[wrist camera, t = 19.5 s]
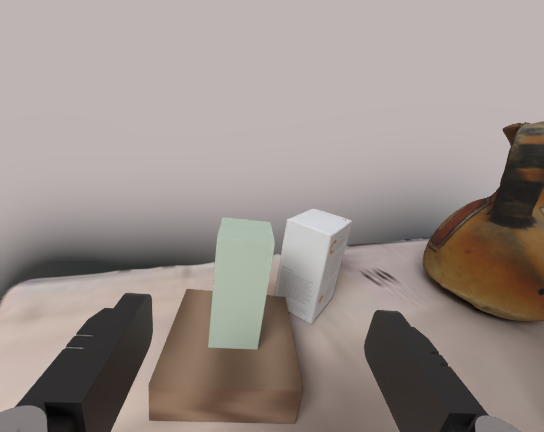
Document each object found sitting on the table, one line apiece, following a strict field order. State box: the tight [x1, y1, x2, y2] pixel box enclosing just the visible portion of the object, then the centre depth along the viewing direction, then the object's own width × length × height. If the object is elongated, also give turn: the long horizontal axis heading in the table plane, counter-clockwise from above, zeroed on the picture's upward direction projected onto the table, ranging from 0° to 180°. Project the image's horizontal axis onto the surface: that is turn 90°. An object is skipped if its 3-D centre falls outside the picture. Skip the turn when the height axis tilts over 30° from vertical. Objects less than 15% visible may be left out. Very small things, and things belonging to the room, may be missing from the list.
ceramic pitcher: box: [423, 122, 544, 321], centre depth 42 cm, size 20×20×30 cm
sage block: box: [208, 217, 275, 349], centre depth 24 cm, size 4×4×11 cm
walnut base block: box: [149, 289, 303, 424], centre depth 27 cm, size 12×12×4 cm
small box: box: [274, 209, 352, 324], centre depth 37 cm, size 8×6×13 cm
